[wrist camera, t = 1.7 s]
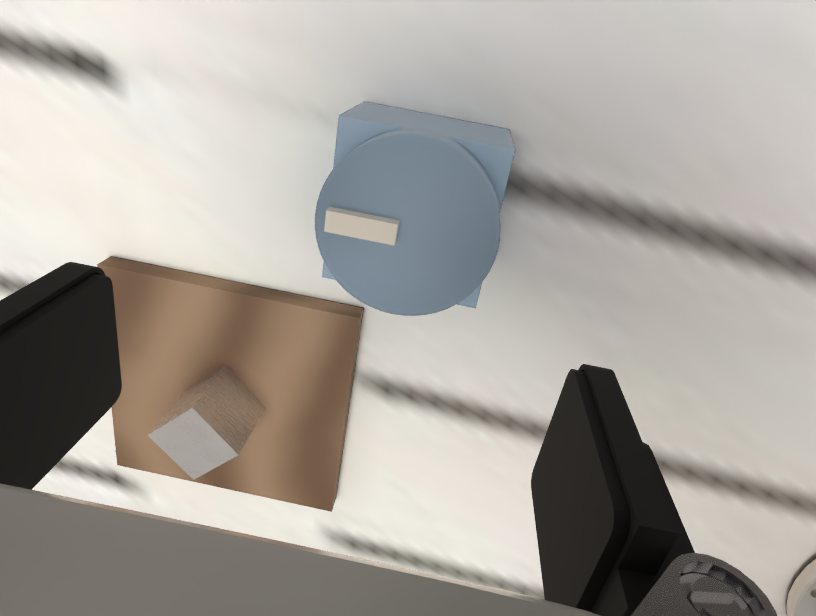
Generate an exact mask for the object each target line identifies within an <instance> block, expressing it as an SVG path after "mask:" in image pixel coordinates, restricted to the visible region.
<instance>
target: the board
mask: <svg viewBox="0 0 816 616" xmlns="http://www.w3.org/2000/svg"><path fill="white" fill-rule="evenodd" d="M97 265H98V267H99V268H101V269H102V270H103V271H104V273H105V275H106V276H108V277H109V278H110V279H111V281H112V284H113V294H114V305H115V316H116V326H117V337H118V348H119V359H120V369H121V380H122V389H121V393H120V396H119V398H118V400H117V401H116V403H115V404H114V405H113V406H112V415H113V425H114V435H115V445H116V455H117V465H120V466H125V467H129V468H134V469H138V470H143V471H148V472H152V473H157V474H161V475H166V476H171V477H175V478H180V479H184V480H189V481H194V482H198V483H203V484H207V485H212V486H217V487H221V488H226V489H230V490H235V491H239V492H244V493H249V494H253V495H258V496H262V497H267V498H272V499H276V500H281V501H285V502H290V503H295V504H299V505H304V506H308V507H313V508H318V509H322V510H327V511H331V512H332V509H333V506H334V502H335V499H336V495H337V488H338V481H339V474H340V467H341V460H342V454H343V447H344V440H345V433H346V426H347V419H348V412H349V405H350V398H351V392H352V385H353V378H354V371H355V364H356V357H357V350H358V343H359V337H360V330H361V323H362V316H363V309H364V308H361V307H356V306H351V305H346V304H341V303H336V302H332V301H327V300H322V299H317V298H312V297H307V296H302V295H297V294H293V293H288V292H283V291H278V290H273V289H268V288H263V287H258V286H253V285H249V284H244V283H239V282H234V281H229V280H224V279H219V278H214V277H210V276H205V275H200V274H195V273H190V272H185V271H180V270H175V269H170V268H166V267H161V266H156V265H151V264H146V263H141V262H136V261H131V260H127V259H122V258H117V257H112V256H111V257H109V258H108V259H106V260H104V261H103V262H101V263H99V264H97ZM225 365H227V366H228V368H229V369H230V370H231V371H232V372H233V373H234V374H235V375H236V376H237V377H238V378H239V379H240V381H241V382H242V383H243V384H244V385H245V386H246V387H247V388H248V389H249V390H250V391H251V392H252V394H253V395H254V396H255V397H256V398H257V399H258V400H259V401H260V402H261V403H262V404H263V405H264V407H265V408H266V409H265V411H264V412H263V414H262V416H261V417H260V419H259V421H258V423H257V424H256V426H255V428H254V429H253V431H252V433H251V435H250V436H249V438H248V440H247V441H246V443H245V445H244V447H243V448H242V450H241V452H240V453H239V455H238V456H236V457H234V458H232V459H231V460H229V461H227V462H225V463H223V464H222V465H220V466H218V467H216V468H214V469H212V470H211V471H209V472H207V473H205V474H203V475H202V476H200V477H198V478H196V479H194V480H193V479H192V478H191V477H190V476H189V475H188V474H187V473H186V472H185V471H184V470H183V469H182V468H181V467H180V466H179V465H178V464H177V463H175V462H174V461H173V460H172V459H171V458H170V457H169V456H168V455H167V454H166V453H165V452H164V451H163V450H162V449H161V448H160V447H159V446H158V445H157V444H156V443H155V442H154V441H153V440H152V439H151V438H150V437H149V436H148V434H149V433H150V432H151V431H152V430H153V428H154V427H155V426H156V425H157V424H158V423H159V421H160V420H161V419H162V418H163V417H164V415H165V414H166V413H167V412H168V411H169V409H170V408H171V407H172V406H173V405H174V403H175V402H176V401H177V400H178V399H179V397H180V396H181V395H182V394H183V393H184V392H185V391H186V390H187V389H189V388H190V387H192V386H194V385H195V384H197V383H198V382H200V381H201V380H203V379H204V378H206V377H208V376H209V375H211V374H212V373H214V372H215V371H217V370H219V369H220V368H222V367H223V366H225Z"/></svg>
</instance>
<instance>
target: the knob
mask: <svg viewBox="0 0 816 616" xmlns="http://www.w3.org/2000/svg"><path fill="white" fill-rule="evenodd" d="M514 153H515V147H514V144H513V140H512V137H511V133H510V130H509V129H505V128H500V127H495V126H490V125H485V124H479V123H474V122H469V121H464V120H459V119H453V118H448V117H443V116H438V115H433V114H427V113H422V112H417V111H412V110H407V109H401V108H396V107H391V106H386V105H381V104H375V103H370V102H365V101H364V102H363V103H361V104H359V105H357V106H355V107H354V108H352V109H350V110H348V111H346V112H344V113H343V114H341V115H339V119H338V129H337V139H336V148H335V158H334V168H333V170H332V172H331V173H330V175H329V176H328V178H327V179H326V181H325V183H324V185H323V187H322V190H321V192H320V195H319V198H318V202H317V207H316V213H315V231H316V239H317V243H318V247H319V250H320V253H321V255H322V258H323V260H324V264H323V274H322V277H325V278H330V279H335V280H337V282H338V283H339V284H340V285H341V286H342V287H343V288H344V289H345V290H346V291H347V292H348V293H350V294H351V295H352V296H354V297H355V298H356V299H358V300H359V301H361V302H363V303H365V304H366V305H368V306H370V307H373V308H375V309H378V310H380V311H384V312H387V313H391V314H397V315H410V316H416V315H426V314H431V313H435V312H439V311H442V310H445V309H447V308H449V307H451V306H453V305H455V304H457V305H462V306H467V307H472V308H476V305H477V301H478V297H479V293H480V289H481V285H482V282H483V280H484V279H485V277H486V276H487V274H488V273H489V271H490V269H491V267H492V265H493V263H494V261H495V258H496V255H497V252H498V247H499V241H500V217H499V213H500V209H501V205H502V201H503V197H504V193H505V189H506V185H507V181H508V177H509V173H510V169H511V165H512V161H513V157H514Z"/></svg>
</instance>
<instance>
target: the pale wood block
mask: <svg viewBox="0 0 816 616" xmlns="http://www.w3.org/2000/svg"><path fill="white" fill-rule="evenodd" d="M265 409H266V408H265V407H264V405H263V404H262V403H261V402H260V401H259V400H258V399H257V398H256V397H255V396H254V395H253V394H252V392H251V391H250V390H249V389H248V388H247V387H246V386H245V385H244V384H243V383H242V382H241V381H240V379H239V378H238V377H237V376H236V375H235V374H234V373H233V372H232V371H231V370H230V369H229V368H228V366H227V365H225V366H223V367H222V368H220V369H219V370H217V371H215V372H214V373H212V374H211V375H209V376H208V377H206V378H204V379H203V380H201V381H200V382H198V383H197V384H195V385H194V386H192V387H190V388H189V389H187V390H186V391H185V392H184V393H183V394H182V395H181V396H180V397H179V399H178V400H177V401H176V402H175V403H174V405H173V406H172V407H171V408H170V409H169V411H168V412H167V413H166V414H165V415H164V417H163V418H162V419H161V420H160V421H159V423H158V424H157V425H156V426H155V427H154V428H153V430H152V431H151V432H150V433H149V434H148V436H149V437H150V438H151V439H152V440H153V441H154V442H155V443H156V444H157V445H158V446H159V447H160V448H161V449H162V450H163V451H164V452H165V453H166V454H167V455H168V456H169V457H170V458H171V459H172V460H173V461H174V462H175V463H177V464H178V465H179V466H180V467H181V468H182V469H183V470H184V471H185V472H186V473H187V474H188V475H189V476H190V477H191V478H192V479H193V480H194V479H196V478H198V477H200V476H202V475H203V474H205V473H207V472H209V471H211V470H212V469H214V468H216V467H218V466H220V465H222V464H223V463H225V462H227V461H229V460H231V459H232V458H234V457H236V456H238V455H239V453H240V452H241V450H242V448H243V447H244V445H245V443H246V441H247V440H248V438H249V436H250V435H251V433H252V431H253V429H254V428H255V426H256V424H257V423H258V421H259V419H260V417H261V416H262V414H263V412H264V411H265Z"/></svg>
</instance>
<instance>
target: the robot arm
mask: <svg viewBox="0 0 816 616" xmlns="http://www.w3.org/2000/svg"><path fill="white" fill-rule="evenodd" d="M121 389H122V380H121V369H120V359H119V348H118V337H117V326H116V316H115V305H114V294H113V284H112V281H111V279H110V278H109V277H108V276H106V275H105V273H104V271H103V270H102V269H101V268H99V267H94V266H89V265H84V264H79V263H74V262H69V263H66V264H64V265H62V266H60V267H59V268H57V269H55V270H53V271H52V272H50V273H48V274H46V275H45V276H43V277H41V278H39V279H37V280H36V281H34V282H32V283H30V284H29V285H27V286H25V287H23V288H22V289H20V290H18V291H16V292H15V293H13V294H11V295H9V296H8V297H6V298H4V299H2V300H1V301H0V616H777V614H776V611H775V609H774V608H773V606H772V604H771V603H770V601H769V599H768V598H767V596H766V595H765V594H764V593H763V592H762V591H761V590H760V588H759V587H758V586H757V585H756V584H755V583H754V582H753V581H752V580H751V579H749V578H748V577H747V576H746V575H744V574H743V573H742V572H741V571H740V570H738V569H736V568H735V567H733V566H731V565H729V564H728V563H726V562H724V561H722V560H720V559H717V558H714V557H712V556H709V555H705V554H698V553H695V552H694V550H693V547H692V545H691V543H690V540H689V538H688V536H687V533H686V531H685V528H684V526H683V524H682V521H681V519H680V516H679V514H678V512H677V509H676V507H675V505H674V502H673V500H672V497H671V495H670V493H669V490H668V488H667V486H666V483H665V481H664V478H663V476H662V474H661V471H660V469H659V466H658V464H657V462H656V459H655V457H654V455H653V452H652V450H651V449H650V447H649V445H647V444H645V443H643V442H642V440H641V437H640V435H639V432H638V430H637V428H636V425H635V423H634V420H633V418H632V415H631V413H630V410H629V408H628V405H627V403H626V400H625V398H624V395H623V393H622V391H621V388H620V386H619V383H618V381H617V378H616V376H615V373H614V372H613V370H611V369H606V368H601V367H596V366H591V365H586V364H583V365H581V367H580V368H579V370H574V369H571V370H570V371H569V373H568V375H567V378H566V380H565V383H564V386H563V389H562V392H561V394H560V397H559V400H558V403H557V405H556V408H555V411H554V414H553V416H552V419H551V422H550V425H549V427H548V430H547V433H546V436H545V439H544V441H543V444H542V447H541V450H540V452H539V455H538V458H537V461H536V463H535V466H534V469H533V473H532V480H531V490H532V498H533V506H534V514H535V522H536V531H537V539H538V547H539V555H540V563H541V571H542V580H543V588H544V596H545V600H543V599H539V598H535V597H531V596H527V595H523V594H519V593H515V592H511V591H507V590H503V589H498V588H493V587H489V586H484V585H479V584H474V583H470V582H466V581H461V580H457V579H453V578H448V577H444V576H440V575H435V574H430V573H426V572H421V571H416V570H412V569H407V568H402V567H398V566H393V565H388V564H384V563H379V562H374V561H370V560H365V559H361V558H356V557H351V556H347V555H342V554H337V553H333V552H328V551H323V550H319V549H314V548H309V547H305V546H300V545H295V544H291V543H286V542H281V541H276V540H272V539H267V538H262V537H257V536H253V535H248V534H243V533H238V532H234V531H229V530H224V529H219V528H214V527H210V526H205V525H200V524H195V523H191V522H186V521H181V520H176V519H171V518H166V517H162V516H157V515H152V514H147V513H142V512H138V511H133V510H128V509H123V508H118V507H113V506H109V505H104V504H99V503H94V502H89V501H84V500H79V499H74V498H69V497H64V496H59V495H54V494H49V493H44V492H40V491H35V490H32V489H33V487H34V486H35V485H36V484H37V483H38V482H39V481H40V480H41V479H42V478H43V477H44V476H45V475H46V474H47V473H48V472H49V471H50V470H51V469H52V468H53V467H54V466H55V465H56V464H57V463H58V462H59V461H60V460H61V459H62V458H63V456H64V455H65V454H66V453H67V452H68V451H69V450H70V449H71V448H72V447H73V446H74V445H75V444H76V443H77V442H78V441H79V440H80V439H81V438H82V437H83V436H84V435H85V434H86V433H87V432H88V431H89V430H90V429H91V428H92V427H93V425H94V424H95V423H96V422H97V421H98V420H99V419H100V418H101V417H102V416H103V415H104V414H105V413H106V412H107V411H108V410H109V409H110V408H111V407H112V406H113V405H114V404H115V403H116V401H117V400H118V398H119V396H120V393H121ZM786 607H787V615H788V616H816V559H815V560H813V561H812V562H811V563H810V564H809V565H807V566H806V567H805V569H804V570H803V571H802V572H801V573H800V575H799V576H798V577H797V578H796V580H795V581H794V583H793V585H792V587H791V589H790V591H789V594H788V599H787V605H786Z"/></svg>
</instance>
